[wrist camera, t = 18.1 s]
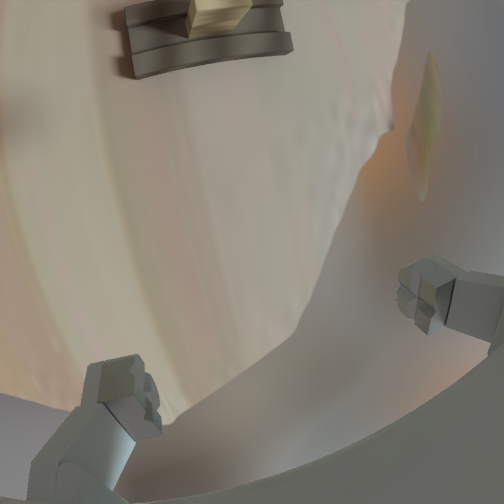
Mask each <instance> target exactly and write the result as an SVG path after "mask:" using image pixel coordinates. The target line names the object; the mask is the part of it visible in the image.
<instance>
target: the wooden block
mask: <svg viewBox="0 0 504 504" xmlns="http://www.w3.org/2000/svg"><path fill="white" fill-rule="evenodd" d="M252 6H253V5H252V1H251V0H191V1H190V5H189V9H188V13H187V18H186V22H185V23H186V29H187V34H188V39H190V38H196V37H202V36H208V35H215V34H223V33H231V32H232V31H233V29H234V28H235V27H236V26H237V24H238V23H239V22H240V20H241V19H242V18H243V17H244V15H245V14H246V13H247V12H248V10H249V9H250V8H251V7H252Z"/></svg>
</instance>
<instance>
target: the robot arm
mask: <svg viewBox="0 0 504 504" xmlns="http://www.w3.org/2000/svg"><path fill="white" fill-rule="evenodd" d="M398 281H399V283H400V284H401V285H400V287H399V288H398V290H397V296H396V301H397V304H398V308H399V309H400V311H401V312H402V313H403V314H404V315H405V316H406V317H408V318H412V319H414V321H415V325H416V326H417V327H418V328H420V329H421V330H422V331H423V332H424V333H425V334H426V335H429V334H431V333H433V332H435V331H437V330H438V329H440V328H442V327H444V326H445V325H446V327H448V328H451V329H453V330H456V331H459V332H462V333H464V334H467V335H470V336H473V337H476V338H478V339H481V340H484V341H487V342H490V343H491V345H490V348H489V350H488V357H486V358H485V359H484V360H483V361H482V362H481V363H479V364H478V365H477V366H476V367H474V368H473V369H472V370H471V371H469V372H468V373H467V374H466V375H464V376H463V377H461V378H460V379H459V380H457V381H456V382H455V383H453V384H452V385H451V386H449V387H448V388H446V389H445V390H444V391H442V392H441V393H439V394H438V395H437V396H435V397H433V398H432V399H430V400H429V401H427V402H426V403H424V404H423V405H421V406H420V407H418V408H416V409H415V410H414V411H412V412H410V413H408V414H407V415H405V416H403V417H402V418H400V419H398V420H396V421H395V422H393V423H391V424H389V425H388V426H386V427H384V428H382V429H380V430H379V431H377V432H375V433H373V434H371V435H369V436H367V437H365V438H363V439H361V440H359V441H357V442H355V443H353V444H351V445H349V446H347V447H344V448H342V449H340V450H338V451H336V452H333V453H331V454H329V455H326V456H324V457H322V458H319V459H317V460H314V461H312V462H309V463H307V464H304V465H302V466H299V467H296V468H293V469H291V470H288V471H285V472H282V473H279V474H276V475H273V476H270V477H267V478H264V479H260V480H257V481H254V482H250V483H247V484H243V485H239V486H235V487H231V488H227V489H223V490H219V491H214V492H210V493H205V494H200V495H195V496H189V497H183V498H177V499H170V500H163V501H154V502H146V503H133V504H504V276H500V275H494V274H488V273H482V272H476V271H469V272H467V271H465V270H463V269H462V268H460V267H459V266H457V265H455V264H454V263H452V262H450V261H448V260H447V259H445V258H443V257H442V256H440V255H438V254H431V255H429V256H427V257H425V258H423V259H421V260H419V261H416V262H414V263H412V264H410V265H407V266H405V267H403V268H401V269H400V270H399V273H398ZM159 406H160V399H159V394H158V390H157V387H156V385H155V382H154V380H153V378H152V376H151V375H150V374H148V373H146V372H145V364H144V362H143V360H142V359H141V357H140V355H138V354H134V355H129V356H124V357H120V358H115V359H110V360H105V361H101V362H96V363H91V364H90V365H89V366H88V367H87V372H86V377H85V382H84V388H83V393H82V399H81V405H80V406H78V407H75V409H74V410H73V411H72V412H71V413H70V415H69V416H68V417H67V418H66V419H65V421H64V422H63V423H62V424H61V426H60V427H59V428H58V429H57V431H56V432H55V433H54V434H53V435H52V437H51V438H50V439H49V440H48V442H47V443H46V444H45V445H44V447H43V448H42V449H41V450H40V452H39V453H38V454H37V456H36V457H35V458H34V459H33V461H32V462H31V468H30V474H29V482H28V490H27V499H26V501H25V500H18V499H12V498H7V497H1V496H0V504H130V503H128V502H127V501H126V500H125V499H123V498H122V497H120V496H119V495H117V494H115V493H114V492H113V489H114V487H115V484H116V482H117V480H118V478H119V476H120V474H121V472H122V470H123V468H124V466H125V464H126V462H127V460H128V458H129V456H130V454H131V452H132V449H133V448H134V445H135V444H136V442H135V441H139V440H145V439H149V438H155V437H159V436H163V432H162V421H161V416H160V415H159V413H158V412H157V409H158V407H159Z"/></svg>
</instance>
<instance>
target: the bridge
mask: <svg viewBox="0 0 504 504" xmlns="http://www.w3.org/2000/svg"><path fill="white" fill-rule="evenodd" d="M190 1H191V0H154V1H149V2H145V3H141V4H137V5H133V6H129V7H125V8H124V9H125V16H126V23H127V27H128V32H129V38H130V45H131V51H132V61H133V67H134V72H135V76H136V78H137V80H139V79H143V78H146V77H150V76H154V75H158V74H162V73H166V72H170V71H175V70H179V69H184V68H189V67H194V66H199V65H205V64H211V63H217V62H223V61H230V60H237V59H245V58H254V57H264V56H277V55H286V54H288V53H290V52H292V51H294V49H293V44H292V39H291V35H290V32H285V29H284V25H283V20H282V16H281V12H280V7H281V6H282V5H283V0H251V1H252V5H253V6H252V7H251V8H250V9H249V10H248V12H247V13H246V14H245V15H244V17H243V18H242V19H241V20H240V22H239V23H238V24H237V26H236V27H235V28H234V29H233V31H232V32H231V33H223V34H215V35H208V36H202V37H196V38H190V39H188V34H187V29H186V23H185V22H186V18H187V13H188V9H189V5H190Z"/></svg>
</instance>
